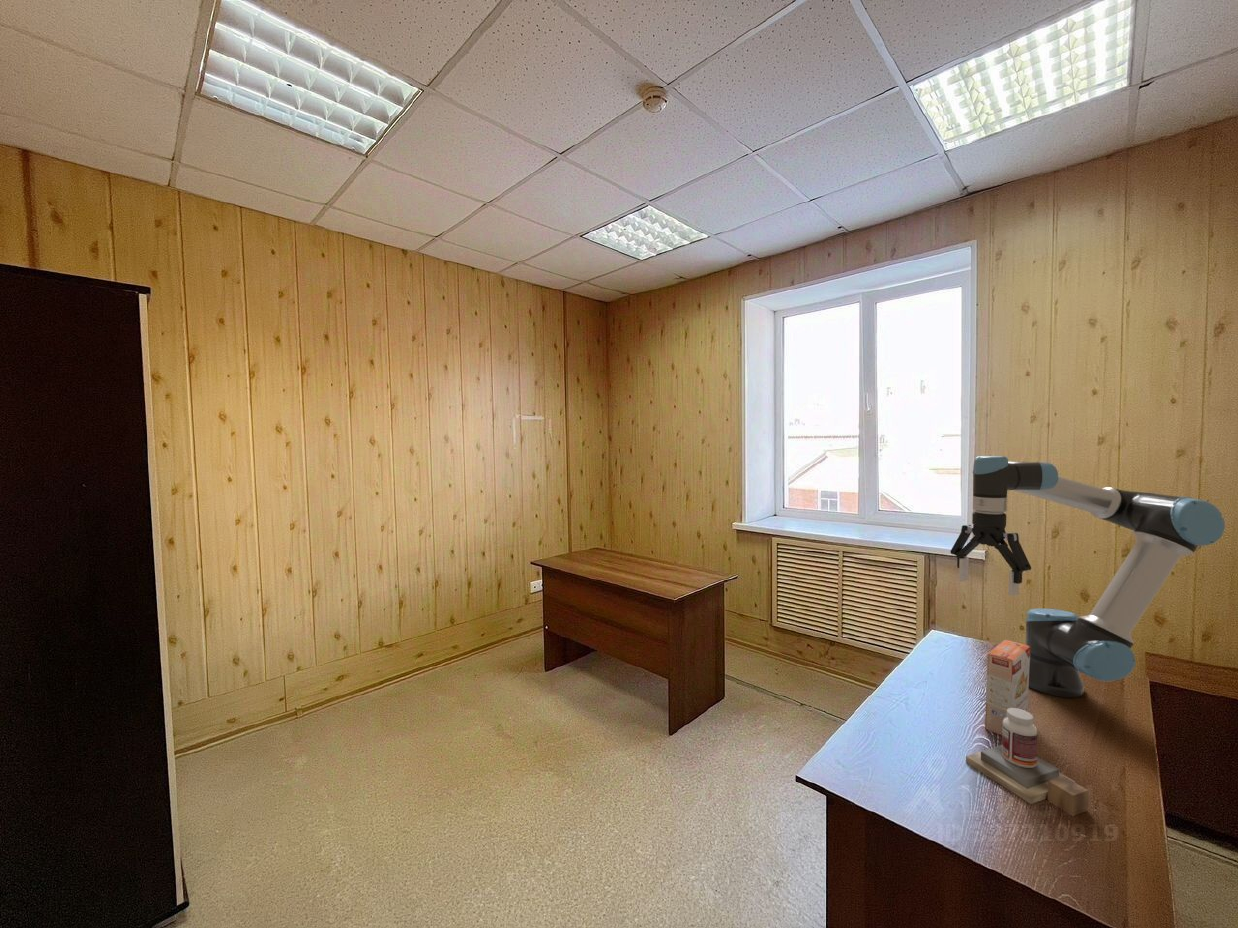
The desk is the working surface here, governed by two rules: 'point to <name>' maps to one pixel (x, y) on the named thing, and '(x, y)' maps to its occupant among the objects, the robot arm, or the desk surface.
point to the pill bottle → (1019, 738)
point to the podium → (1016, 774)
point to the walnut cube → (1068, 795)
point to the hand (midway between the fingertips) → (987, 587)
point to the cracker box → (1006, 682)
